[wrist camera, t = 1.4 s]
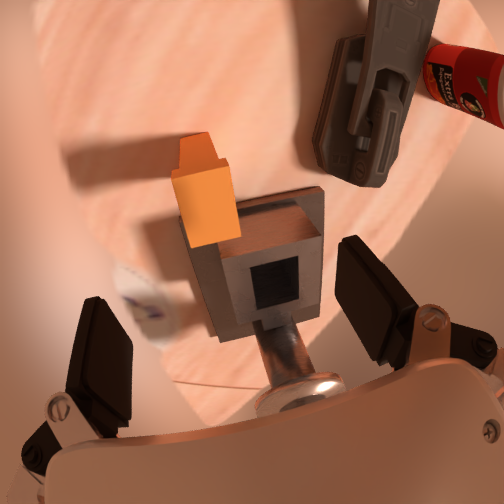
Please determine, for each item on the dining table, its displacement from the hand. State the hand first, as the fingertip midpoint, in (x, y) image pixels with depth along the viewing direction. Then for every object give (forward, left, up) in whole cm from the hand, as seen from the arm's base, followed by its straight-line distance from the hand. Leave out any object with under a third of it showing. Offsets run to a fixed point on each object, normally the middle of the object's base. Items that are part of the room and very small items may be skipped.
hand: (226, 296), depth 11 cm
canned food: (-8, +28, -17) cm, 33 cm away
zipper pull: (-8, +17, -17) cm, 25 cm away
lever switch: (+15, +4, -17) cm, 22 cm away
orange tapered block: (0, 0, -17) cm, 17 cm away
